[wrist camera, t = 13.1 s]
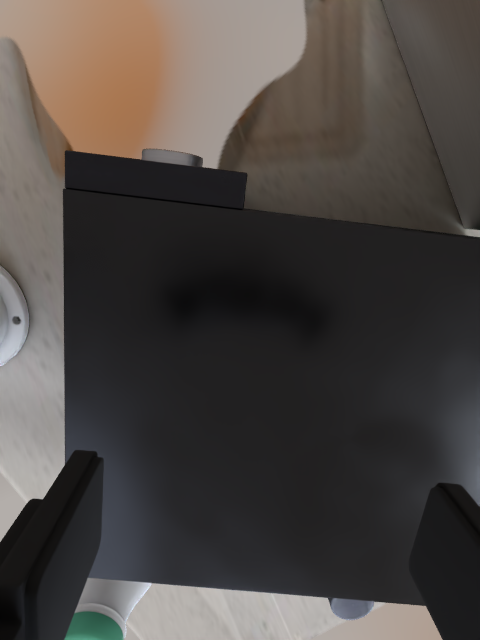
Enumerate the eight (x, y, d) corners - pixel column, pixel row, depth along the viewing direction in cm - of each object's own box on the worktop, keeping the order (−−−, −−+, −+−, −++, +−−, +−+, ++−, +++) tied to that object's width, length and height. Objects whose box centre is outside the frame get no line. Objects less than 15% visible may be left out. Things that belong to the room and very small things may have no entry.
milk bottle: (187, 491, 46) (150, 698, 26) (121, 496, 46) (36, 706, 26) (178, 432, 43) (131, 611, 24) (108, 438, 44) (7, 621, 24)
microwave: (155, 170, 36) (62, 129, 17) (475, 210, 37) (732, 214, 18) (143, 409, 43) (65, 576, 23) (413, 436, 44) (552, 616, 24)
